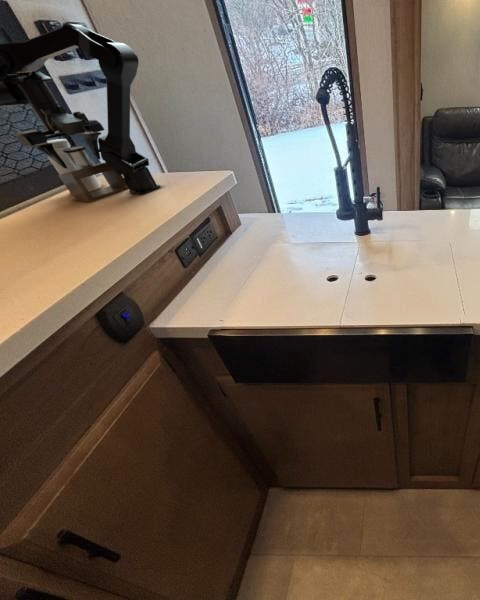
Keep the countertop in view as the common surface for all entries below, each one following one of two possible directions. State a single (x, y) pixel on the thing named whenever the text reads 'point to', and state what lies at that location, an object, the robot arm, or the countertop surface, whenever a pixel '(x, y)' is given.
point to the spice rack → (74, 177)
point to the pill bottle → (62, 144)
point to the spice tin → (79, 157)
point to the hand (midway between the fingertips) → (83, 163)
